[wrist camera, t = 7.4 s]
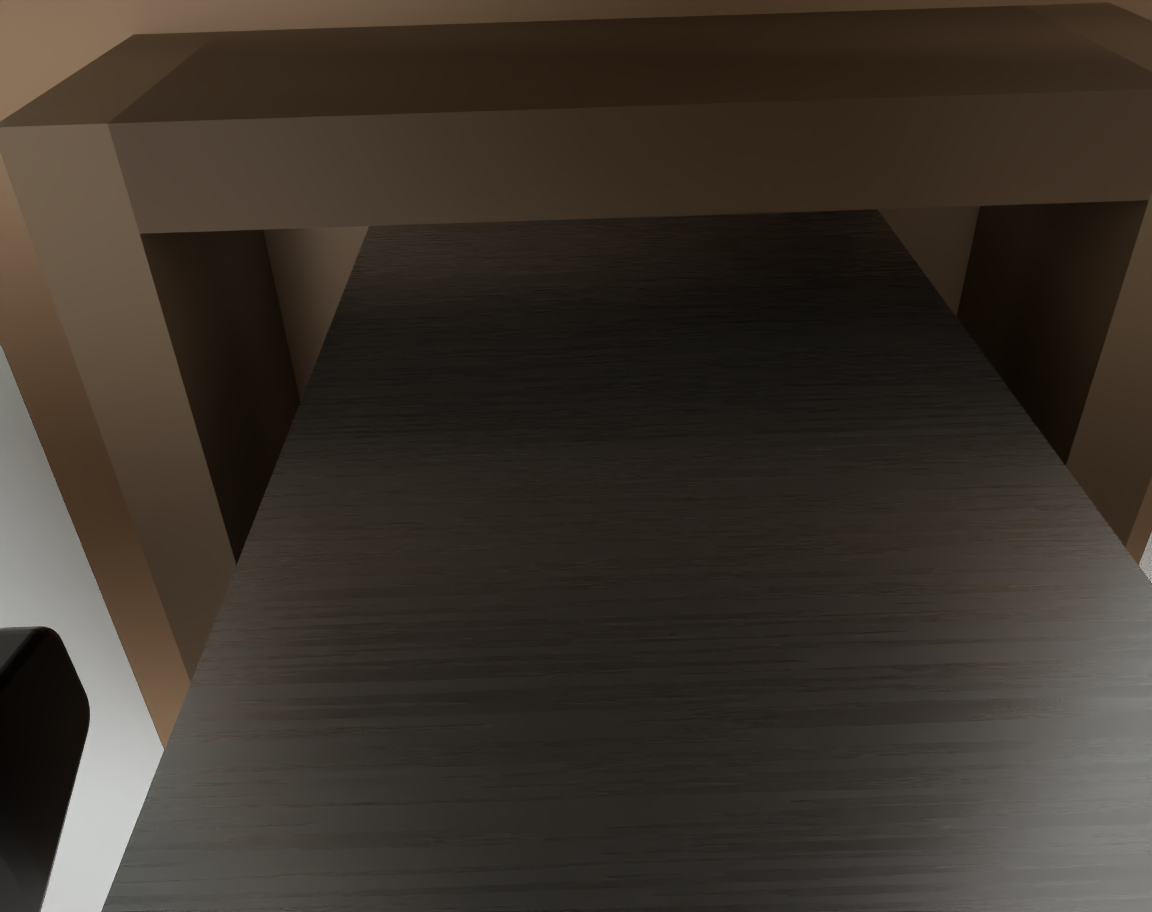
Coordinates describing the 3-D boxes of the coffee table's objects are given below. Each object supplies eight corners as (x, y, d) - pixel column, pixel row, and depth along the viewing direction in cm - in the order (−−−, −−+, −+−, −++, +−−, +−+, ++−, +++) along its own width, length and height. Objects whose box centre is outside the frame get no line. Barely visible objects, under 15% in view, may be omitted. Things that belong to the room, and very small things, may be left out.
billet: (815, 575, 12) (1078, 1380, 6) (426, 588, 12) (304, 1407, 6) (871, 201, 9) (1443, 978, 3) (372, 217, 9) (57, 1023, 3)
